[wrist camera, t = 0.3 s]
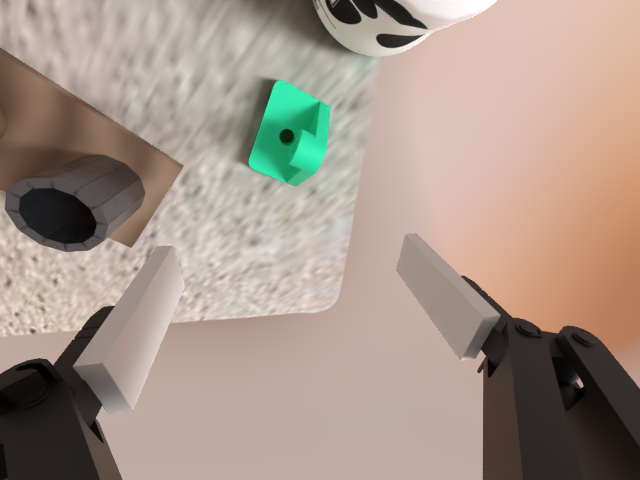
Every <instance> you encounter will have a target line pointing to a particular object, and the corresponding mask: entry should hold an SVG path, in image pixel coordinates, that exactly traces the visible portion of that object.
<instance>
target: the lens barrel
mask: <svg viewBox="0 0 640 480" xmlns="http://www.w3.org/2000/svg"><path fill="white" fill-rule="evenodd" d="M144 197H145V190H144V187H143V184H142V181H141V179H140V177H139V176H138V175H137V174H136V173H135V172H134V171H133V170H132V169H131V168H130V167H129V166H128V165H127V164H126V163H123V162H121V161H119V160H116V159H114V158H112V157H109V156H107V155H91V156H84V157H82V158H79V159H76V160H73V161H71V162H68V163H65V164H62V165H60V166H57V167H54V168H51V169H49V170H46V171H43V172H40V173H38V174H35V175H32V176H29V177H27V178H24V179H22V180H21V181H19V182H18V183H17V184H15V185H14V186H12V187H11V188H9V189H8V190H7V191H6V203H5V210H6V212H7V213H8V215H9V216H10V218H11V219H12V221H13V222H14V224H15V225H16V227H17V228H18V229H19V230H20V231H21V232H23V233H24V234H26V235H27V236H29V237H30V238H32V239H33V240H35V241H36V242H38V243H39V244H41V245H44V246H47V247H51V248H55V249H58V250H62V251H65V252H72V251H87V250H90V249H92V248H94V247H95V246H97V245H98V244H100V243H101V242H103V241H104V240H105V239H107V238H108V237H109V236H110V235H111V234H112V233H113V232H114V231H115V230H116V229H117V228H118V227H120V226H121V225H122V224H123V223H124V222H125V221H126V220H127V219H128V218H129V217H130V216H131V215H132V214H134V213H135V212H136V211H137V210H138V209H139V208H140V207H141V206H142V203H143V200H144Z"/></svg>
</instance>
